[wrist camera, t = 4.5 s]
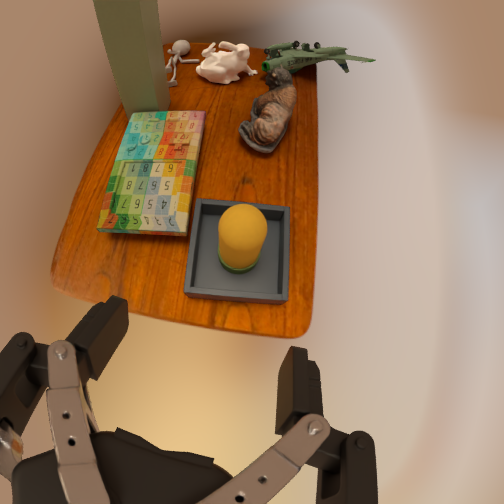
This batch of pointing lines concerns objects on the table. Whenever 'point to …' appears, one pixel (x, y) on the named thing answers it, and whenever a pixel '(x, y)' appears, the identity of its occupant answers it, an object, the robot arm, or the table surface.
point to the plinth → (135, 53)
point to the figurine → (179, 50)
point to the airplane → (305, 56)
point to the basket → (238, 285)
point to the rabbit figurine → (225, 63)
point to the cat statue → (270, 112)
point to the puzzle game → (154, 174)
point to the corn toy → (241, 238)
